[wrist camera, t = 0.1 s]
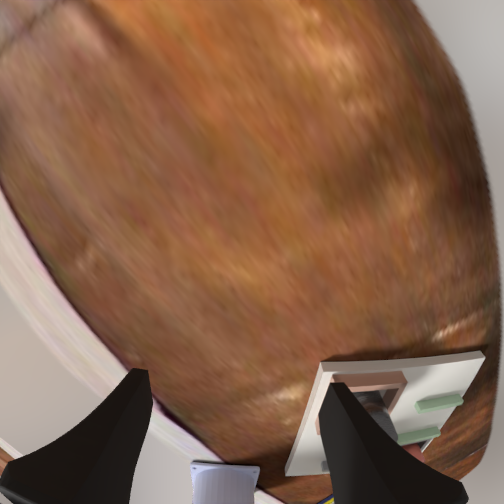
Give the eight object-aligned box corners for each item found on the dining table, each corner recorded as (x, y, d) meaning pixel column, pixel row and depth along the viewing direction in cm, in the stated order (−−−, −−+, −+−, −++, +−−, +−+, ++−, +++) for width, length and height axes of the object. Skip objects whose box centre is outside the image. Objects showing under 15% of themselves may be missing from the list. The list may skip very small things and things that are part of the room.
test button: (411, 454, 29) (417, 469, 26) (389, 458, 28) (395, 475, 26) (422, 440, 27) (429, 456, 25) (400, 444, 27) (406, 461, 25)
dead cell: (370, 411, 25) (388, 461, 19) (330, 414, 25) (343, 468, 19) (385, 381, 23) (408, 434, 18) (342, 384, 23) (360, 441, 18)
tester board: (414, 451, 31) (420, 466, 29) (284, 468, 30) (286, 486, 28) (479, 350, 24) (492, 366, 22) (320, 361, 24) (327, 385, 21)
